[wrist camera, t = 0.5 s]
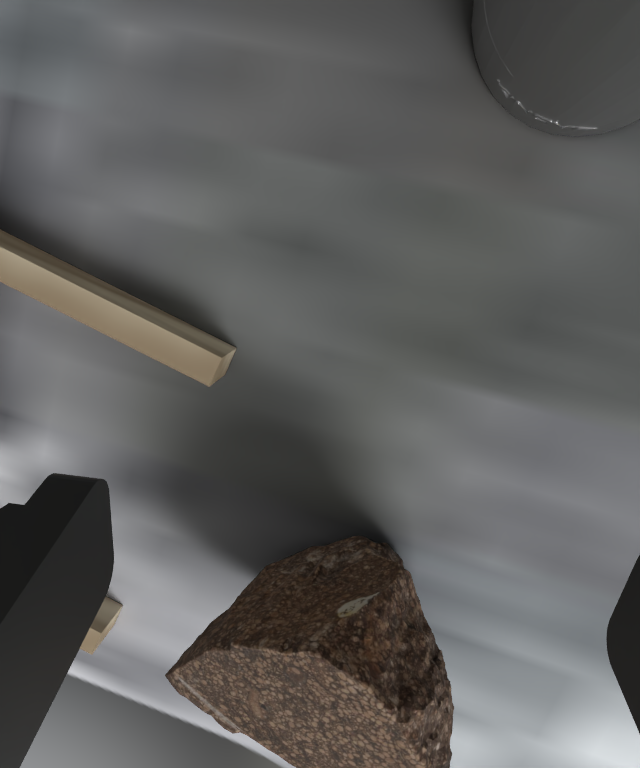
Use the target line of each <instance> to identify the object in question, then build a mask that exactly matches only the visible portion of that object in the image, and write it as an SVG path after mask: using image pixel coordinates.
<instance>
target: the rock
mask: <svg viewBox="0 0 640 768" xmlns="http://www.w3.org/2000/svg"><path fill="white" fill-rule="evenodd" d="M165 676H166V678H167V679H168V680H169V682H170V683H171V685H172V686H173V687H174V688H175V689H176V691H177V692H178V693H179V694H180V695H182V696H184V697H186V698H187V699H188V700H190V701H191V702H192V703H193V704H195V705H196V706H197V707H198V708H200V709H201V710H202V711H204V712H205V713H207V714H209V715H212V717H213V718H214V719H215V720H216V721H217V722H218V723H219V724H220V725H221V726H222V727H223V728H224V729H226V730H228V731H230V732H231V733H239V732H241V733H243V734H245V735H247V736H249V737H250V738H252V739H253V740H255V741H256V742H258V743H259V744H261V745H262V746H264V747H265V748H266V749H268V750H270V751H272V752H274V753H275V754H277V755H278V756H280V757H281V758H283V759H284V760H285V761H286V762H288V763H289V764H291V765H293V766H295V767H296V768H450V760H451V756H452V752H451V749H450V737H451V734H452V723H453V710H454V706H453V703H452V696H451V685H450V681H449V680H448V678H447V672H446V669H445V662H444V660H443V655H442V651H441V650H439V648H438V646H437V644H436V643H435V637H434V635H433V633H432V631H431V628H430V627H429V625H428V623H427V621H426V619H425V617H424V614H423V611H422V609H421V605H420V600H419V598H418V596H417V594H416V591H415V587H414V584H413V580H412V577H411V574H410V572H409V571H407V570H406V569H404V567H403V561H402V559H401V558H400V556H399V555H398V554H397V553H395V552H394V551H393V550H392V548H391V547H390V546H389V544H387V543H374V542H373V541H371V540H370V539H368V538H366V537H363V536H353V537H350V538H346V539H343V540H340V541H337V542H334V543H331V544H329V545H326V546H312V547H310V548H307V549H305V550H303V551H301V552H299V553H297V554H295V555H292V556H290V557H287V558H285V559H283V560H280V561H277V562H275V563H272V564H269V565H267V566H265V567H264V569H263V570H262V571H261V572H260V573H259V574H258V576H257V577H256V578H255V579H254V580H253V581H252V582H251V583H250V584H249V585H248V586H247V587H246V588H245V589H244V590H243V591H242V593H241V594H240V596H238V597H237V599H236V600H235V602H234V603H233V604H232V606H231V607H230V608H229V609H228V610H226V611H225V612H224V613H222V614H221V615H220V616H218V617H217V618H216V619H215V620H213V621H212V622H211V623H210V624H209V625H208V627H207V628H206V629H205V630H204V632H203V633H202V634H201V635H199V636H198V638H197V639H196V640H195V642H194V643H193V644H192V645H191V646H190V647H189V648H188V649H187V650H186V651H185V652H184V653H183V654H182V656H181V657H180V659H179V660H178V661H177V663H176V664H175V665H174V666H173V667H172V668H171V669H170V670H169V671H168V672H167V674H166V675H165Z"/></svg>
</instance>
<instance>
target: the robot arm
mask: <svg viewBox="0 0 640 768" xmlns="http://www.w3.org/2000/svg"><path fill="white" fill-rule="evenodd" d="M471 30H472V39H473V48H474V54H475V57H476V61H477V64H478V67H479V70H480V73H481V76H482V78H483V80H484V81H485V83H486V85H487V86H488V88H489V90H490V91H491V93H492V95H493V96H494V98H495V99H496V100H497V101H498V102H499V103H500V104H501V105H502V106H503V107H504V108H505V109H506V110H507V111H508V112H509V113H510V114H511V115H512V116H514V117H516V118H517V119H519V120H520V121H522V122H523V123H525V124H526V125H528V126H529V127H532V128H535V129H538V130H541V131H544V132H546V133H549V134H553V135H562V136H571V137H580V136H590V135H600V134H603V133H606V132H609V131H612V130H616V129H619V128H622V127H625V126H627V125H629V124H631V123H633V122H635V121H637V120H639V119H640V0H474V2H473V13H472V25H471ZM113 564H114V551H113V537H112V524H111V510H110V497H109V488H108V484H107V482H106V481H105V480H104V479H97V478H89V477H81V476H73V475H65V474H57V473H53V474H51V475H49V476H48V477H47V478H46V479H45V480H44V481H43V483H42V484H41V485H40V486H39V488H38V489H37V490H36V491H35V493H34V494H33V495H32V496H31V498H30V499H29V500H28V501H27V503H26V504H25V505H20V504H12V503H8V504H7V505H5V506H4V507H2V508H0V768H19V767H20V766H21V763H22V762H23V760H24V757H25V756H26V754H27V752H28V750H29V748H30V746H31V744H32V742H33V740H34V738H35V736H36V734H37V732H38V730H39V728H40V726H41V724H42V722H43V720H44V718H45V716H46V714H47V712H48V710H49V708H50V706H51V704H52V702H53V700H54V698H55V696H56V694H57V692H58V690H59V688H60V686H61V684H62V682H63V680H64V678H65V676H66V674H67V672H68V670H69V668H70V666H71V664H72V662H73V660H74V658H75V656H76V654H77V652H78V651H79V649H80V647H81V645H82V643H83V641H84V639H85V637H86V635H87V633H88V631H89V629H90V627H91V625H92V623H93V621H94V619H95V617H96V615H97V613H98V611H99V609H100V607H101V605H102V603H103V601H104V599H105V597H106V594H107V591H108V588H109V585H110V581H111V577H112V572H113ZM607 651H608V657H609V660H610V664H611V666H612V669H613V671H614V674H615V676H616V678H617V681H618V683H619V686H620V688H621V690H622V693H623V695H624V697H625V700H626V702H627V705H628V707H629V709H630V712H631V714H632V716H633V719H634V721H635V724H636V726H637V728H638V731H639V733H640V555H639V557H638V559H637V561H636V563H635V565H634V567H633V569H632V572H631V574H630V576H629V578H628V581H627V583H626V585H625V587H624V589H623V592H622V594H621V596H620V598H619V600H618V603H617V605H616V607H615V609H614V611H613V614H612V616H611V618H610V621H609V624H608V629H607Z"/></svg>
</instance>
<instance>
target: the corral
mask: <svg viewBox="0 0 640 768" xmlns="http://www.w3.org/2000/svg"><path fill="white" fill-rule="evenodd" d="M0 282H2V283H4V284H6V285H8V286H10V287H12V288H14V289H16V290H18V291H20V292H22V293H24V294H26V295H28V296H30V297H32V298H34V299H36V300H38V301H40V302H42V303H44V304H46V305H48V306H50V307H52V308H54V309H56V310H58V311H60V312H62V313H64V314H66V315H68V316H70V317H71V318H73V319H75V320H77V321H79V322H81V323H83V324H85V325H87V326H89V327H91V328H93V329H95V330H97V331H99V332H101V333H103V334H105V335H107V336H109V337H111V338H113V339H115V340H117V341H119V342H121V343H123V344H125V345H127V346H129V347H131V348H133V349H135V350H137V351H139V352H141V353H143V354H145V355H147V356H149V357H151V358H153V359H155V360H157V361H159V362H161V363H163V364H165V365H167V366H169V367H171V368H173V369H175V370H177V371H179V372H181V373H183V374H185V375H187V376H189V377H191V378H193V379H195V380H197V381H199V382H201V383H203V384H205V385H207V386H209V387H210V386H211V385H212V384H213V383H215V382H216V381H217V380H219V379H220V378H221V377H223V376H224V375H225V374H226V371H227V369H228V367H229V365H230V362H231V360H232V358H233V356H234V353H235V351H236V349H237V348H236V347H234V346H232V345H230V344H228V343H226V342H224V341H222V340H220V339H218V338H216V337H214V336H212V335H210V334H208V333H206V332H204V331H202V330H200V329H198V328H196V327H194V326H192V325H190V324H188V323H186V322H184V321H182V320H180V319H178V318H176V317H174V316H172V315H170V314H168V313H166V312H164V311H162V310H160V309H158V308H156V307H154V306H152V305H150V304H148V303H146V302H144V301H142V300H140V299H138V298H136V297H134V296H132V295H130V294H128V293H126V292H124V291H122V290H120V289H118V288H116V287H114V286H112V285H110V284H108V283H106V282H104V281H102V280H100V279H98V278H96V277H94V276H92V275H90V274H88V273H86V272H84V271H82V270H80V269H78V268H76V267H74V266H72V265H70V264H68V263H66V262H64V261H62V260H60V259H58V258H56V257H54V256H52V255H50V254H48V253H46V252H44V251H42V250H40V249H38V248H36V247H34V246H32V245H30V244H28V243H26V242H24V241H22V240H20V239H18V238H16V237H14V236H12V235H10V234H8V233H6V232H4V231H2V230H0ZM122 606H123V605H121V604H119V603H117V602H115V601H113V600H111V599H110V598H108V597H105V599H104V601H103V603H102V605H101V607H100V609H99V611H98V613H97V615H96V617H95V619H94V621H93V623H92V625H91V627H90V629H89V631H88V633H87V635H86V637H85V639H84V641H83V643H82V645H81V647H80V649H82V650H84V651H86V652H88V653H90V654H93V653H94V651H95V650H96V649H97V647H98V646H99V645H100V643H101V642H102V641H103V639H104V638H105V637H106V635H107V634H108V633H109V631H110V630H111V629H112V627H113V626H114V624H115V622H116V619H117V617H118V615H119V613H120V610H121V608H122Z"/></svg>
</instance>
